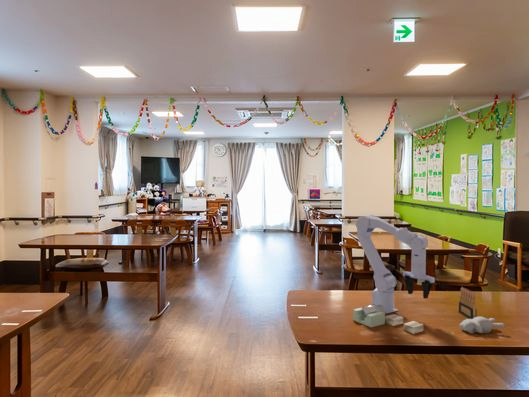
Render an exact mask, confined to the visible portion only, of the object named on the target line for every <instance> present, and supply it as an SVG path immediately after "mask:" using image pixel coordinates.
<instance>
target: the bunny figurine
mask: <svg viewBox="0 0 529 397" xmlns="http://www.w3.org/2000/svg"><path fill="white" fill-rule="evenodd" d="M505 327H506V326H505V324H504V323H503V322H496V318H493V317H489V318H486V317H484V316H477V317H475V318H474V319H469V318H466V319H464V320H462V321H461V323H459V328H460V329H461V330H463V331H465V332H467V333H469V334H475V333H479V334H486V333H490V332H491V331H492V330H493V328H501V329H504V328H505Z"/></svg>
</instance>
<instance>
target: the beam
mask: <svg viewBox="0 0 529 397" xmlns="http://www.w3.org/2000/svg"><path fill="white" fill-rule="evenodd" d="M385 324H387V325H389V326H392V327H394V326H399V325H402V324H403V331H405V332H408V333H410V334H413V335H414V334H417V333H420V332H423V331H424V324H423V323H420V322H417V321H414V320H411V321H409V322H406V323H404V317H403V316H401V315H397V314H390V315H385Z"/></svg>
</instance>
